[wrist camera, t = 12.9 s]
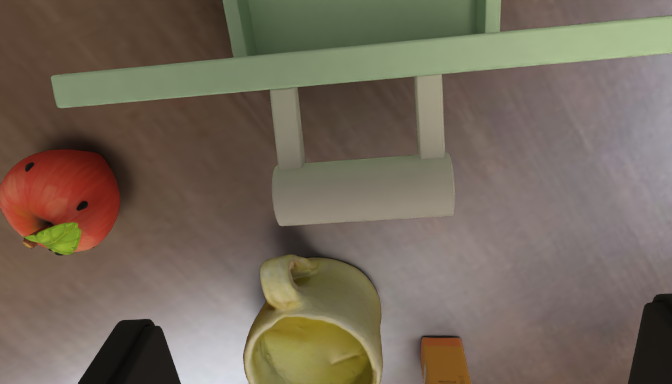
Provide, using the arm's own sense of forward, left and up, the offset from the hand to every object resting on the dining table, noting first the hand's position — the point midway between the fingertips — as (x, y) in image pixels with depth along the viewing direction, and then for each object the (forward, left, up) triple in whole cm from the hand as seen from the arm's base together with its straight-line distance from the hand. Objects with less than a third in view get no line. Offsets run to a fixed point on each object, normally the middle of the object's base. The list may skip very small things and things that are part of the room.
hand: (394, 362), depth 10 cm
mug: (+17, +3, -24) cm, 30 cm away
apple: (+15, -15, -24) cm, 32 cm away
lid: (-3, -2, -12) cm, 13 cm away
